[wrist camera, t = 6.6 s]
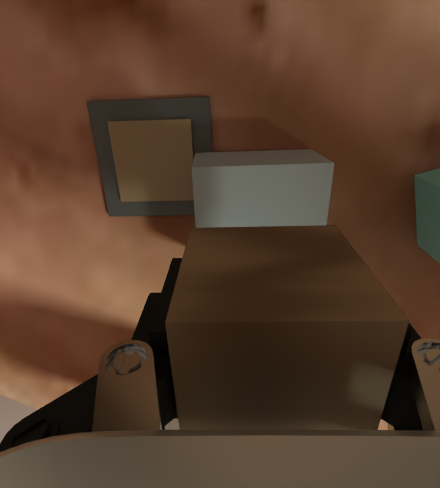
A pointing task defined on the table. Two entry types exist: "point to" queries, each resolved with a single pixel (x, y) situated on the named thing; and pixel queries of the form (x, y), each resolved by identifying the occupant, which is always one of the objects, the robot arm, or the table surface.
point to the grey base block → (261, 188)
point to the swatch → (149, 152)
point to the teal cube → (428, 212)
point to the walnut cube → (280, 332)
